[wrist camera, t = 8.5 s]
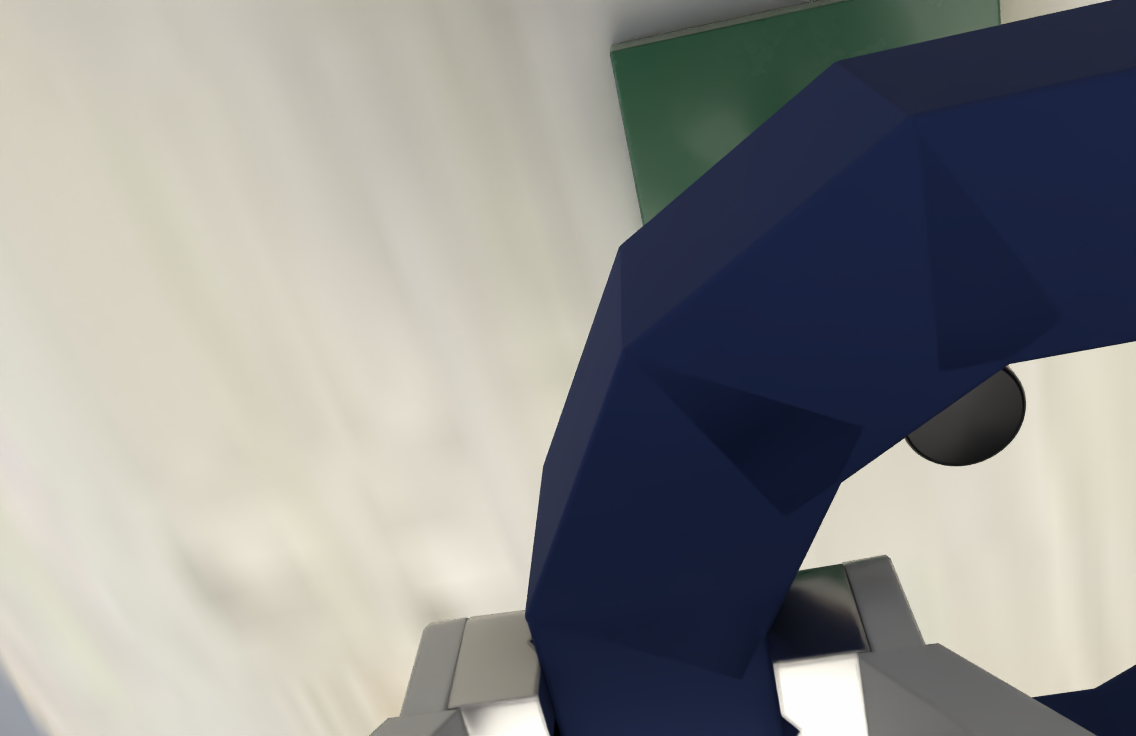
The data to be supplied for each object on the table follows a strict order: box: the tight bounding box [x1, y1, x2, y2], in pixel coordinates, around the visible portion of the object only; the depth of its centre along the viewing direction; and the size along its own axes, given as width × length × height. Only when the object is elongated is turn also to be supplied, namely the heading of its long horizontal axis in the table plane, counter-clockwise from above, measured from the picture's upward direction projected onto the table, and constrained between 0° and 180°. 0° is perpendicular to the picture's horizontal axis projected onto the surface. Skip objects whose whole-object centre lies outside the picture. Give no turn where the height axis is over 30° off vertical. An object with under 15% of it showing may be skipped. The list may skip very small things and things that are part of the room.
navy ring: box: [525, 0, 1136, 736], centre depth 12 cm, size 12×12×3 cm
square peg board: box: [610, 0, 1026, 466], centre depth 21 cm, size 9×9×13 cm
